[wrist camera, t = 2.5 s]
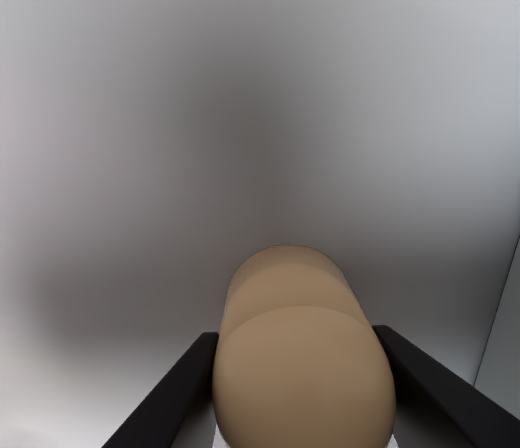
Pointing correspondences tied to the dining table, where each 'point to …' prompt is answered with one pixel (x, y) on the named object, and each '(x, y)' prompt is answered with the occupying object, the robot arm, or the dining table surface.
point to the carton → (504, 347)
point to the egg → (299, 358)
